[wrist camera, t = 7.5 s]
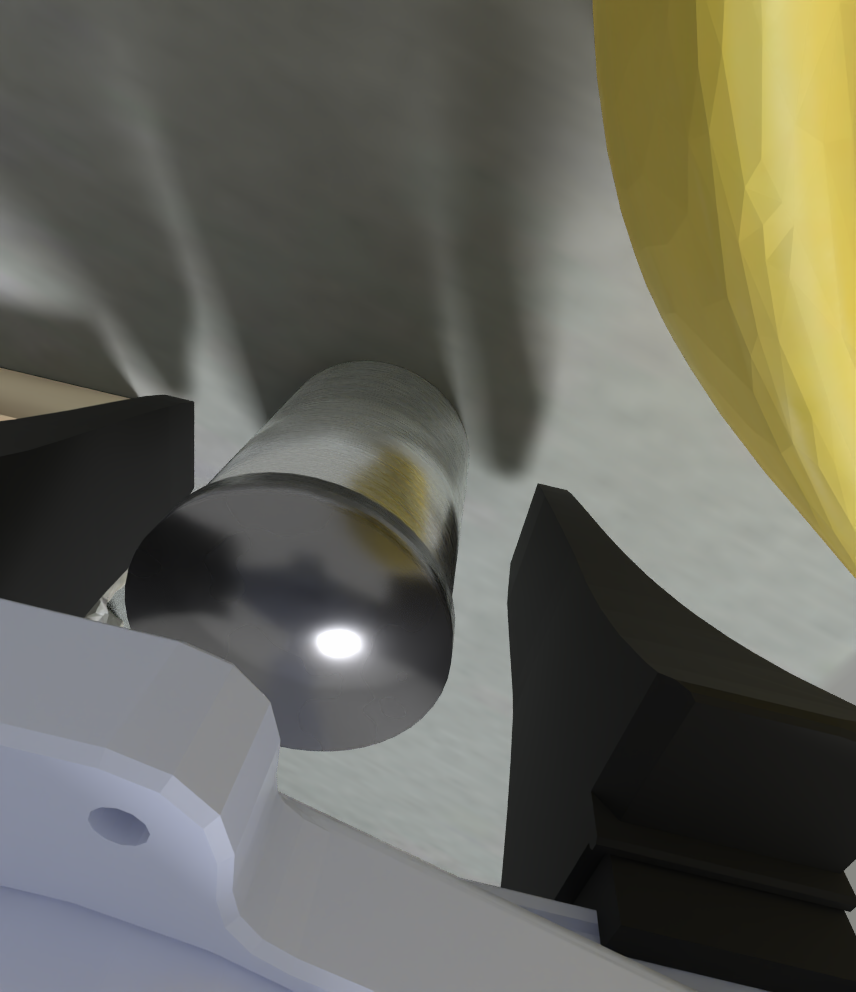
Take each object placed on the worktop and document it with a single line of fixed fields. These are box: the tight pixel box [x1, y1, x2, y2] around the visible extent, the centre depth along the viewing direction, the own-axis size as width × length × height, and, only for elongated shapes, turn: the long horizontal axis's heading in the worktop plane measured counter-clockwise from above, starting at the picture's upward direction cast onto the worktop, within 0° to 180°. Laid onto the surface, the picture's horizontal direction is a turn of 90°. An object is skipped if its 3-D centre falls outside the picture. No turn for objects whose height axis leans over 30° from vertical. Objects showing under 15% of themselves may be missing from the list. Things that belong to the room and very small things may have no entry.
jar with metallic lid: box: [125, 361, 469, 751], centre depth 11 cm, size 5×5×6 cm
